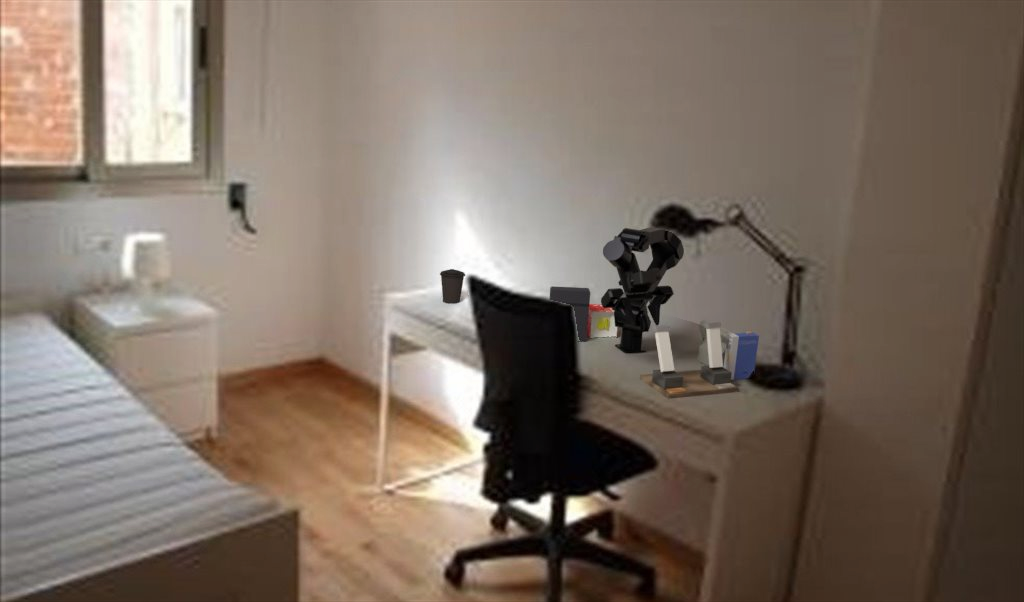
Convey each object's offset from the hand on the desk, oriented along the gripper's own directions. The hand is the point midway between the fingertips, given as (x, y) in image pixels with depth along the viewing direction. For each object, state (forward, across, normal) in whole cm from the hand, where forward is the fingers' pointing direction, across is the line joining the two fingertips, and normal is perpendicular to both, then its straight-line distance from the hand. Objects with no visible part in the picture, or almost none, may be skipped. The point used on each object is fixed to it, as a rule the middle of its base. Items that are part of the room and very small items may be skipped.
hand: (646, 325), depth 243 cm
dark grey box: (-12, -8, +30) cm, 33 cm away
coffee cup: (-43, -28, +61) cm, 80 cm away
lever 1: (+15, 0, -3) cm, 15 cm away
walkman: (+16, +23, +2) cm, 28 cm away
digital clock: (+9, +24, +9) cm, 27 cm away
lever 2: (+15, +14, -3) cm, 21 cm away
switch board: (+17, +7, +1) cm, 18 cm away
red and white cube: (-14, +4, +32) cm, 35 cm away
